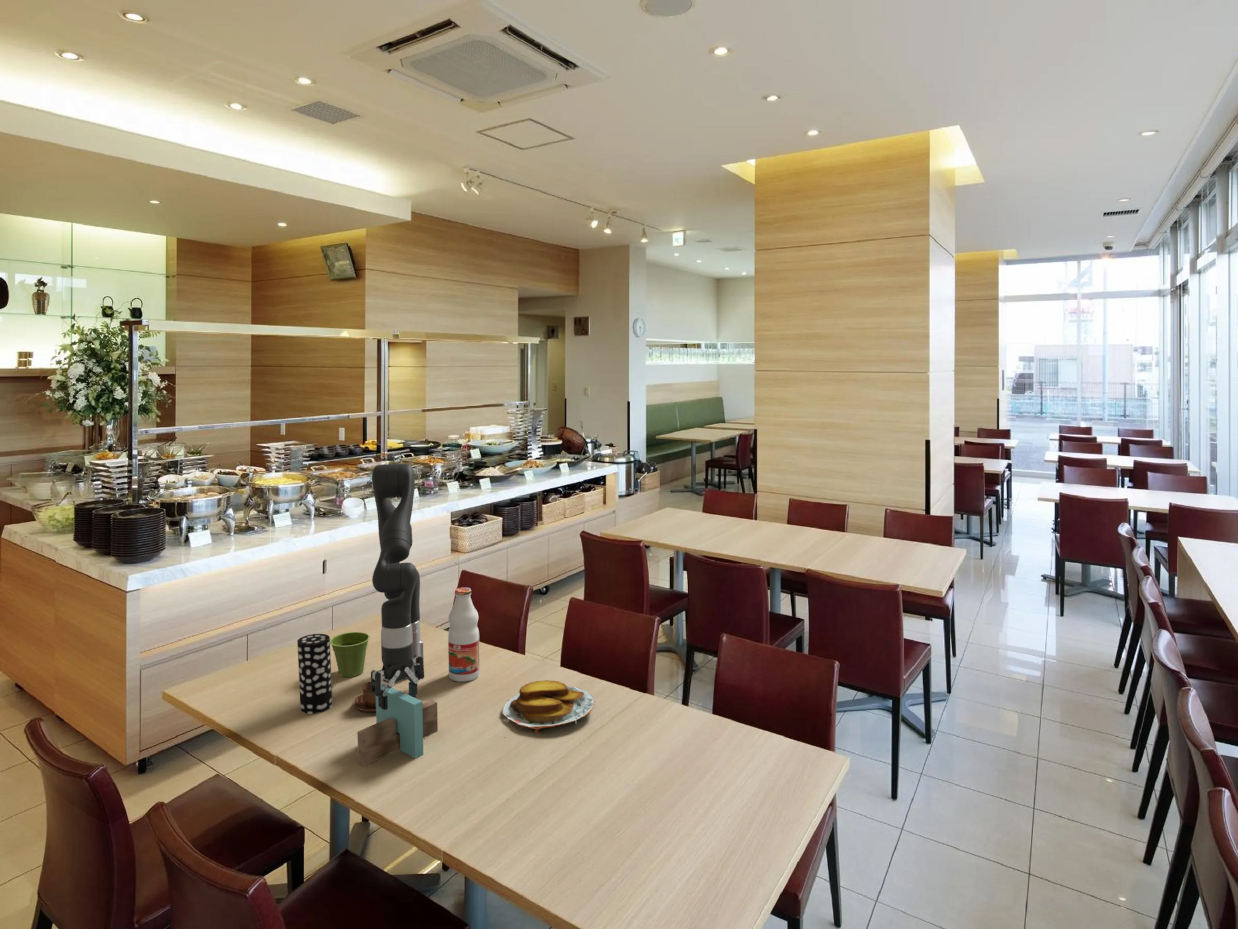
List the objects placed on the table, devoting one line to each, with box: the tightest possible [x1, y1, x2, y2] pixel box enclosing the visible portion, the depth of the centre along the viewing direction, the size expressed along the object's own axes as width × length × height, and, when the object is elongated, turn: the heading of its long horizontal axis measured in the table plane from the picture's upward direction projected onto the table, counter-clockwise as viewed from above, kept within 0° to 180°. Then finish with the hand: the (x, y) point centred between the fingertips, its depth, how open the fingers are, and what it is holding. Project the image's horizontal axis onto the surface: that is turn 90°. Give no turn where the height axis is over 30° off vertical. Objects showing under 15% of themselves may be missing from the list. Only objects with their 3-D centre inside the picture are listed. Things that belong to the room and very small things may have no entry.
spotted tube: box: [296, 633, 333, 715], centre depth 203 cm, size 8×8×20 cm
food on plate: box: [501, 679, 596, 734], centre depth 203 cm, size 26×26×7 cm
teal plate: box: [375, 687, 424, 759], centre depth 183 cm, size 2×16×14 cm, turn 52°
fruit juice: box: [447, 587, 480, 683], centre depth 224 cm, size 9×9×28 cm
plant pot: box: [330, 631, 371, 678], centre depth 226 cm, size 12×12×11 cm
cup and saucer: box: [353, 680, 389, 713], centre depth 206 cm, size 12×12×6 cm
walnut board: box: [356, 699, 439, 767], centre depth 184 cm, size 22×2×8 cm, turn 142°
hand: (398, 702), depth 183 cm, fingers open, 8 cm apart
